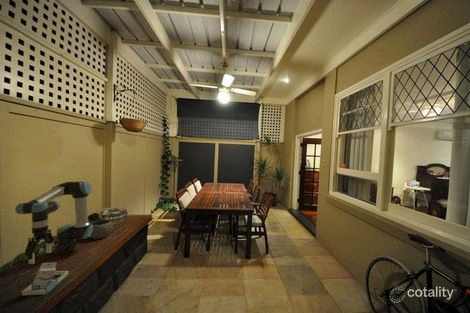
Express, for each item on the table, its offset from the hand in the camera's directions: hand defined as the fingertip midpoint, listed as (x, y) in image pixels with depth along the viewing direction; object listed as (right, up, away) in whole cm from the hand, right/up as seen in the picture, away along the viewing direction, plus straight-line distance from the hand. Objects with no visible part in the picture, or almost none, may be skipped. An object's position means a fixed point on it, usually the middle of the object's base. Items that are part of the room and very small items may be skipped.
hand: (40, 257), depth 130 cm
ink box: (-1, -20, 0) cm, 20 cm away
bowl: (-16, -18, +80) cm, 84 cm away
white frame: (-1, -21, +6) cm, 22 cm away
